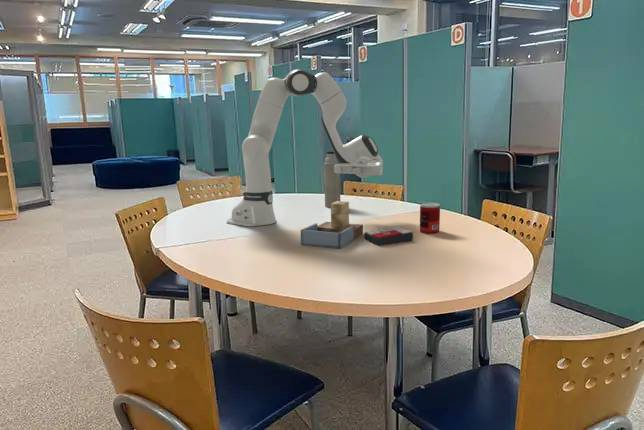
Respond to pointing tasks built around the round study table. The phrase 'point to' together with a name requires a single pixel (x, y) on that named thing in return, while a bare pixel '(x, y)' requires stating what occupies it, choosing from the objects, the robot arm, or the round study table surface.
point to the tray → (326, 237)
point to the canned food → (429, 218)
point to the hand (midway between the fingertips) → (351, 171)
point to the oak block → (339, 214)
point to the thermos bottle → (331, 180)
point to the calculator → (388, 236)
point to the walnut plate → (341, 229)
